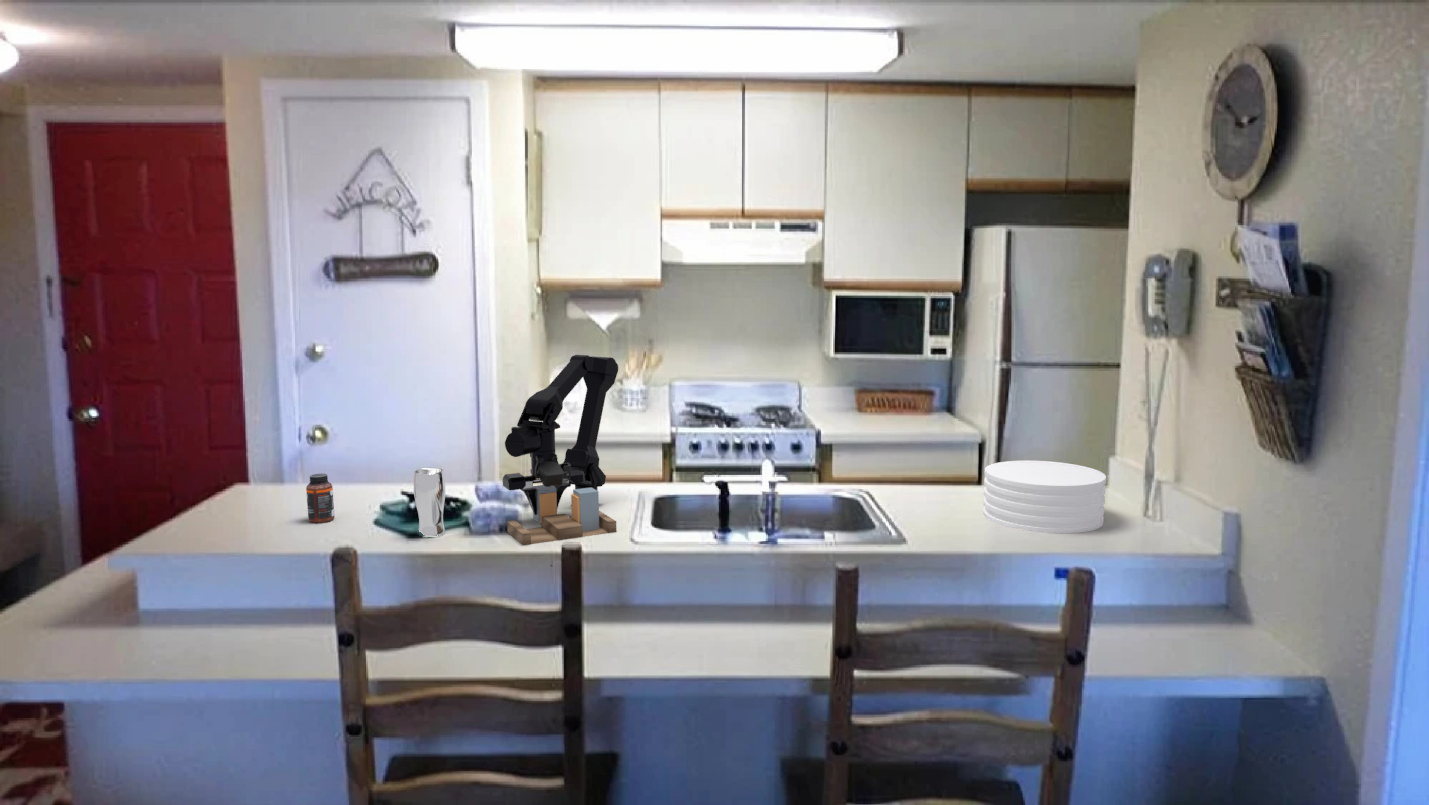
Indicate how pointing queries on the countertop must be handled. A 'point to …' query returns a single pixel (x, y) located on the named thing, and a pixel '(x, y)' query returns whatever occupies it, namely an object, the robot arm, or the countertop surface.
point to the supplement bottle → (320, 499)
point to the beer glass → (430, 500)
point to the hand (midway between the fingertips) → (545, 513)
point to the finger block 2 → (586, 508)
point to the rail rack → (558, 529)
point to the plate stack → (1044, 496)
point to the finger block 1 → (545, 502)
